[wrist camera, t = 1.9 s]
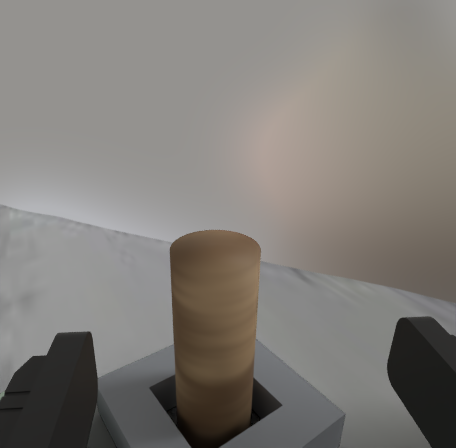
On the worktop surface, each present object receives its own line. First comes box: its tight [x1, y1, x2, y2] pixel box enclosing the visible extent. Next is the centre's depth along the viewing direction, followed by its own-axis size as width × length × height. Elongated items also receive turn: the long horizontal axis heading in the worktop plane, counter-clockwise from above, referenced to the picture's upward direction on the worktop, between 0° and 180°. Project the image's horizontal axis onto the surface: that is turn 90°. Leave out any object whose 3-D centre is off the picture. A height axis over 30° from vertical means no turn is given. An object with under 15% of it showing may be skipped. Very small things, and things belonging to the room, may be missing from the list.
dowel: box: [170, 230, 261, 448], centre depth 24 cm, size 5×5×14 cm
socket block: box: [97, 339, 345, 448], centre depth 26 cm, size 12×12×3 cm
